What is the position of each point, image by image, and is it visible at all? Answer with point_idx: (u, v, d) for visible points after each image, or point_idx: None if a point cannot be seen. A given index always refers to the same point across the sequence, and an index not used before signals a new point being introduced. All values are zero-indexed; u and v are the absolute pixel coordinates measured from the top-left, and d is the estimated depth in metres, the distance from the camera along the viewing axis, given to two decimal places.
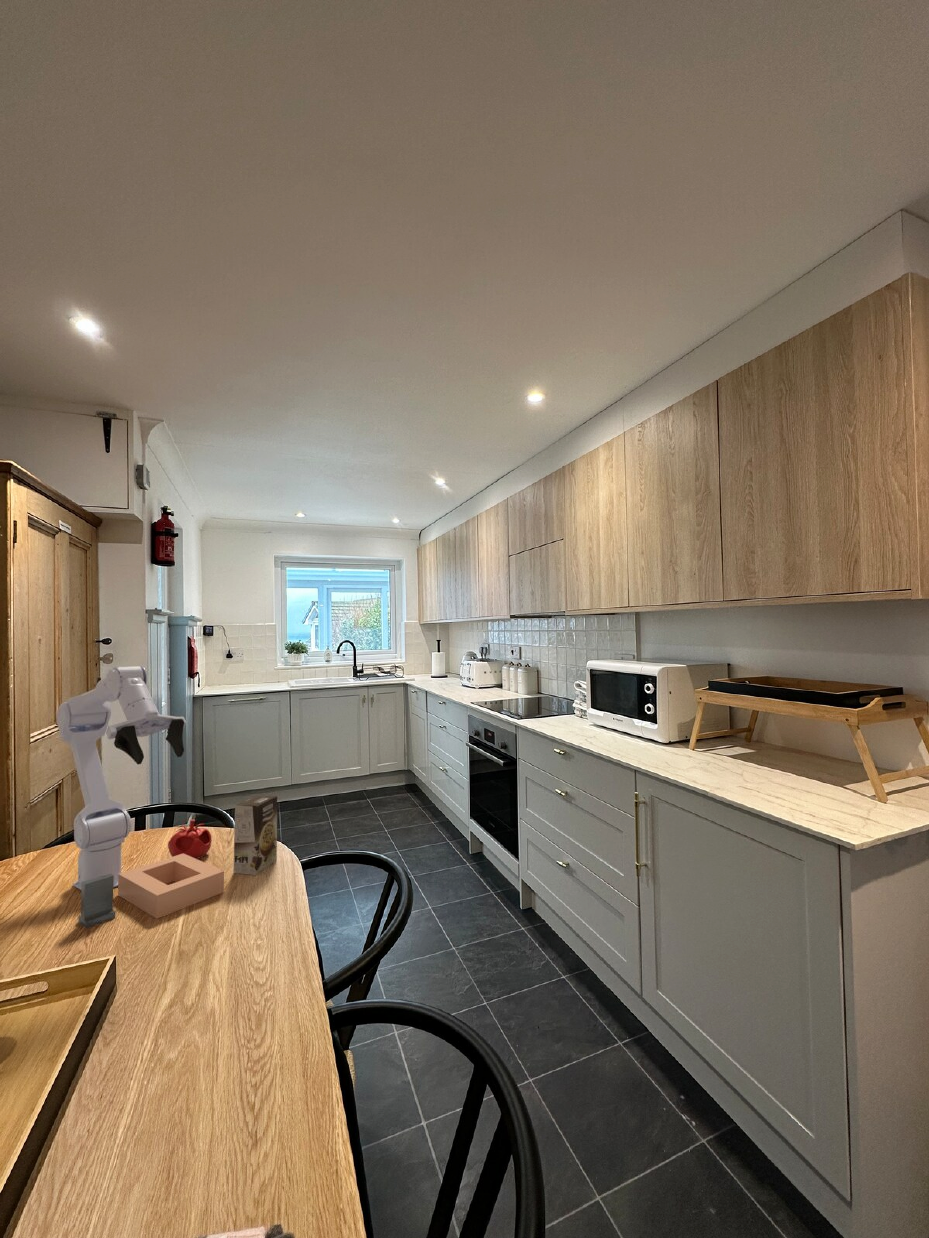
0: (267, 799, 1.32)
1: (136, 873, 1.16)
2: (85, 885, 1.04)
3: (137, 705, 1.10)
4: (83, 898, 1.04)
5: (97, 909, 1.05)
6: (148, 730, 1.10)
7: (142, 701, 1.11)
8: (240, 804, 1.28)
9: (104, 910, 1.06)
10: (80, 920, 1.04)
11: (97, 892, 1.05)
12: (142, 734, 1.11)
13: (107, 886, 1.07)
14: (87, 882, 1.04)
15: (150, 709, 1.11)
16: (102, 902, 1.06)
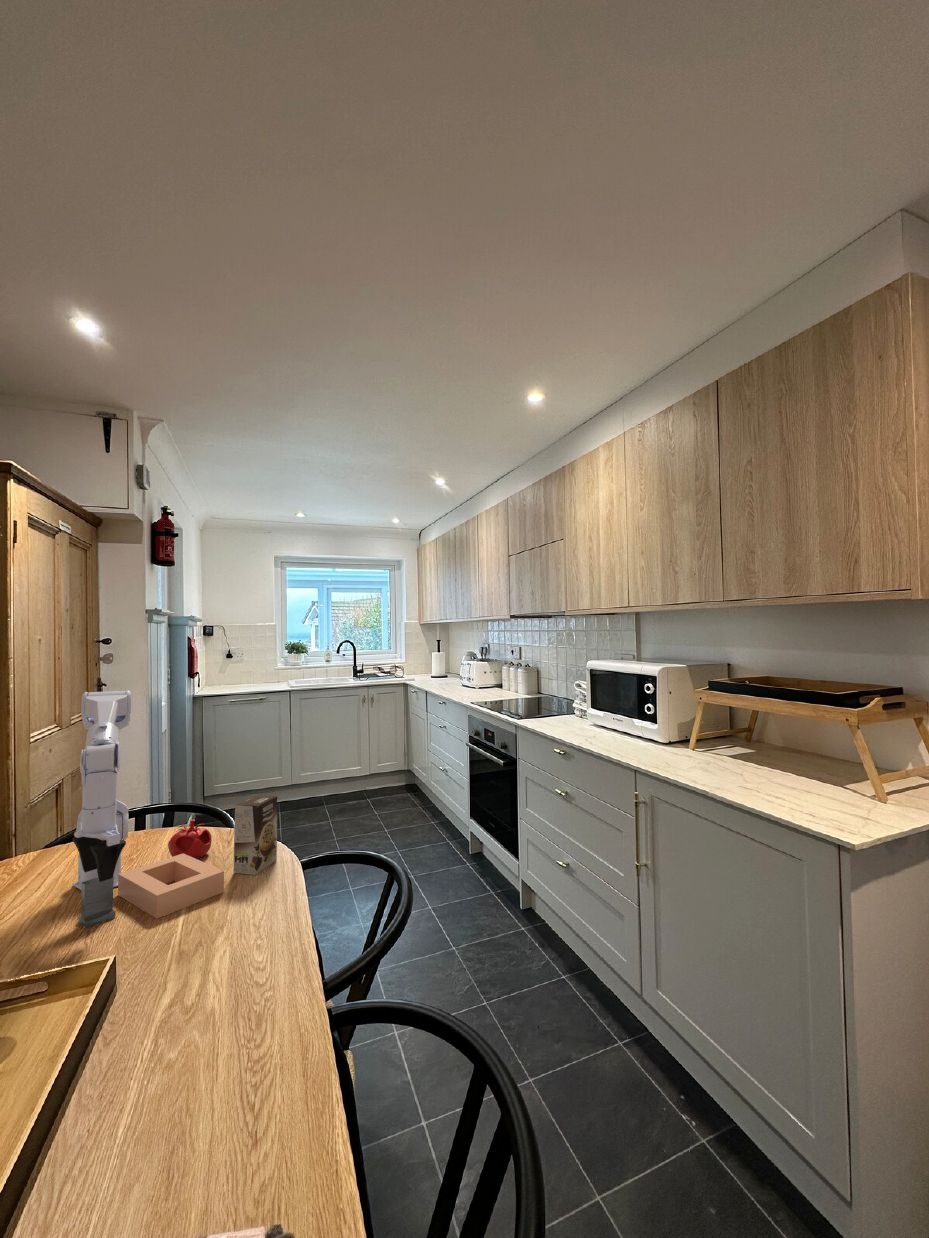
0: (267, 799, 1.32)
1: (136, 873, 1.16)
2: (85, 885, 1.04)
3: None
4: (83, 898, 1.04)
5: (97, 909, 1.05)
6: None
7: (82, 811, 1.05)
8: (240, 804, 1.28)
9: (104, 910, 1.06)
10: (80, 920, 1.04)
11: (97, 892, 1.05)
12: None
13: (107, 886, 1.07)
14: (87, 882, 1.04)
15: (83, 824, 1.04)
16: (102, 902, 1.06)
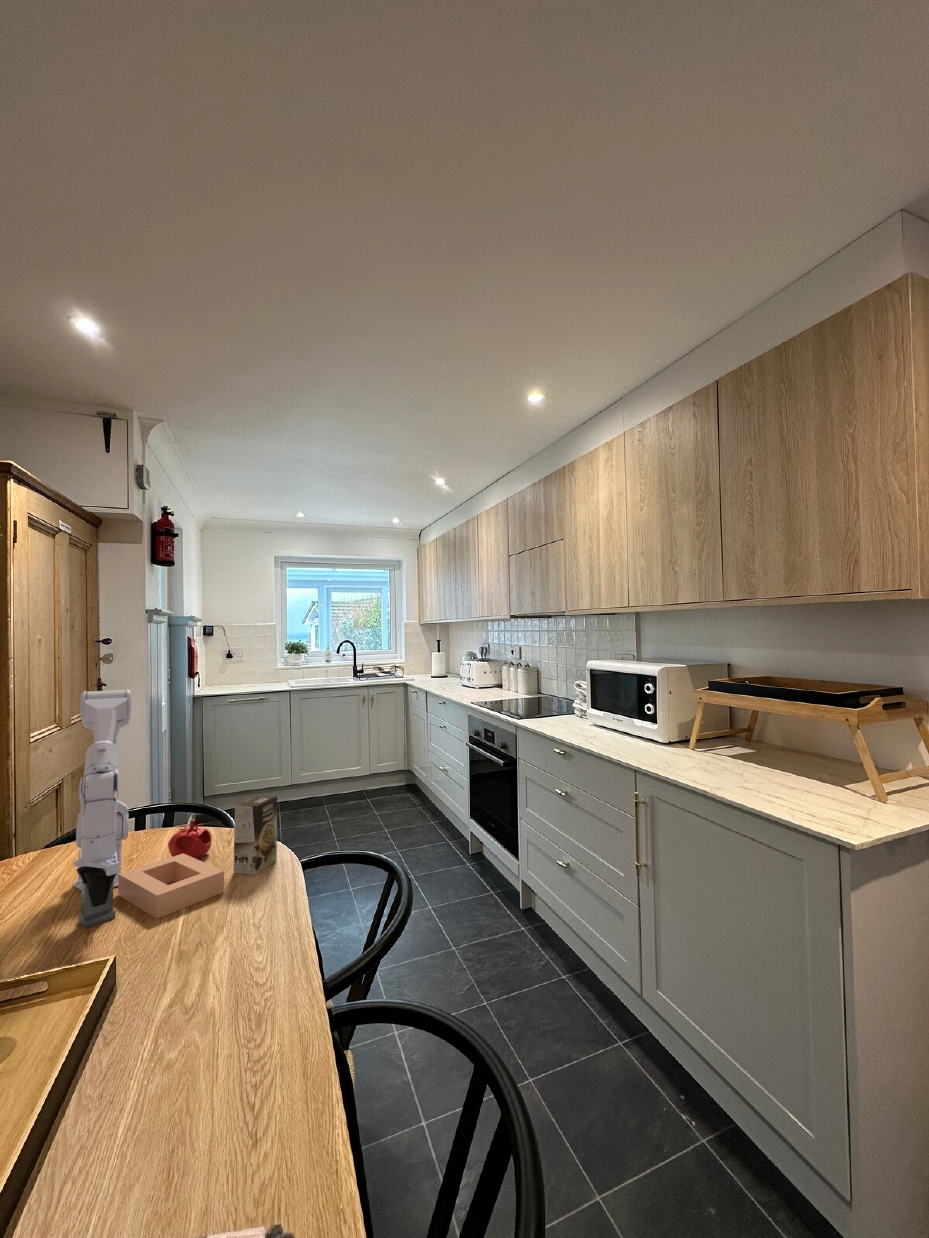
0: (267, 799, 1.32)
1: (136, 873, 1.16)
2: (85, 885, 1.04)
3: None
4: (83, 898, 1.04)
5: (97, 909, 1.05)
6: None
7: (81, 840, 1.04)
8: (240, 804, 1.28)
9: (104, 910, 1.06)
10: (80, 920, 1.04)
11: None
12: None
13: None
14: (87, 882, 1.04)
15: (82, 853, 1.04)
16: None
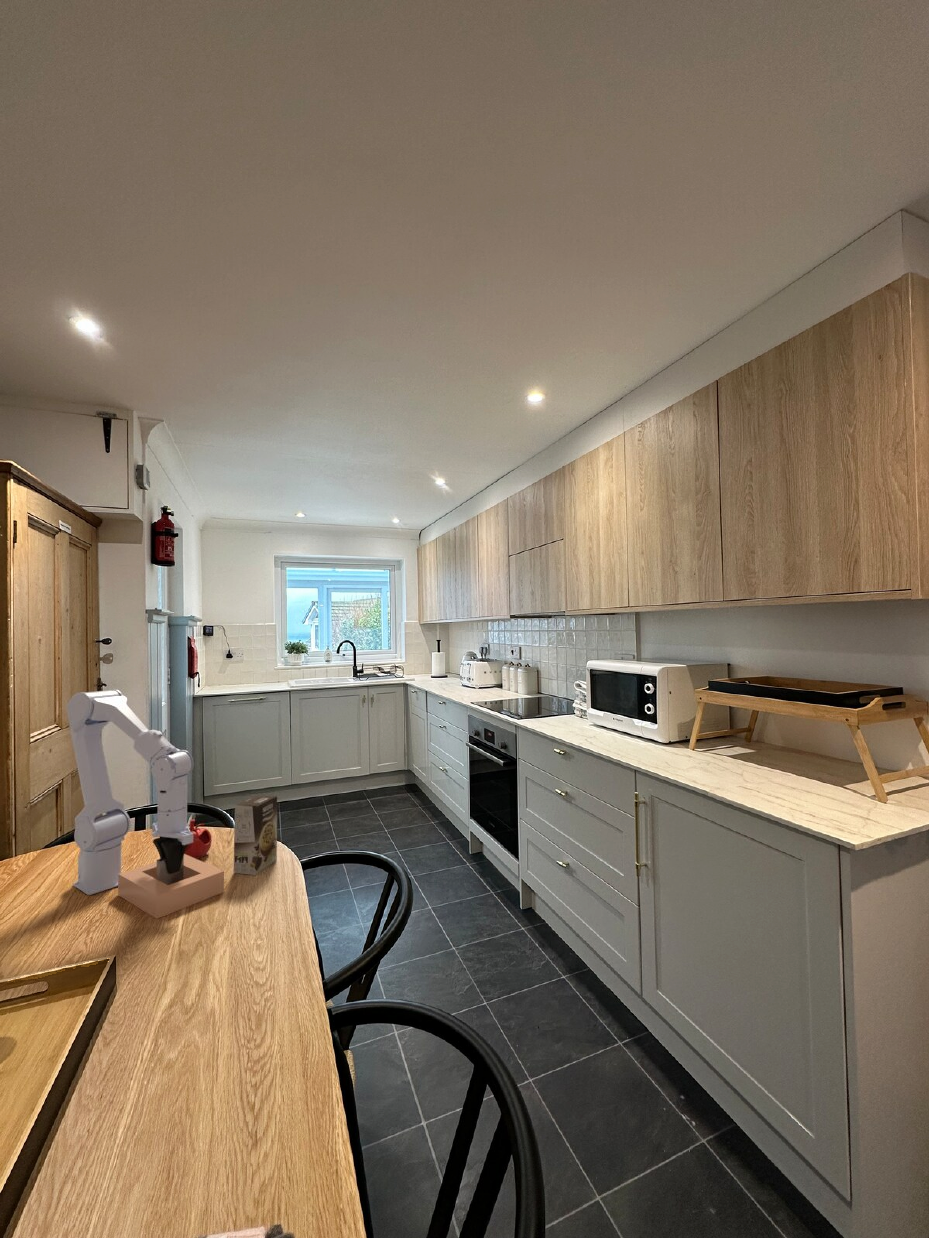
0: (267, 799, 1.32)
1: (136, 873, 1.16)
2: (160, 862, 1.14)
3: None
4: (158, 874, 1.14)
5: None
6: None
7: (158, 813, 1.15)
8: (240, 804, 1.28)
9: None
10: None
11: None
12: None
13: None
14: (161, 859, 1.15)
15: (159, 825, 1.15)
16: (174, 878, 1.16)
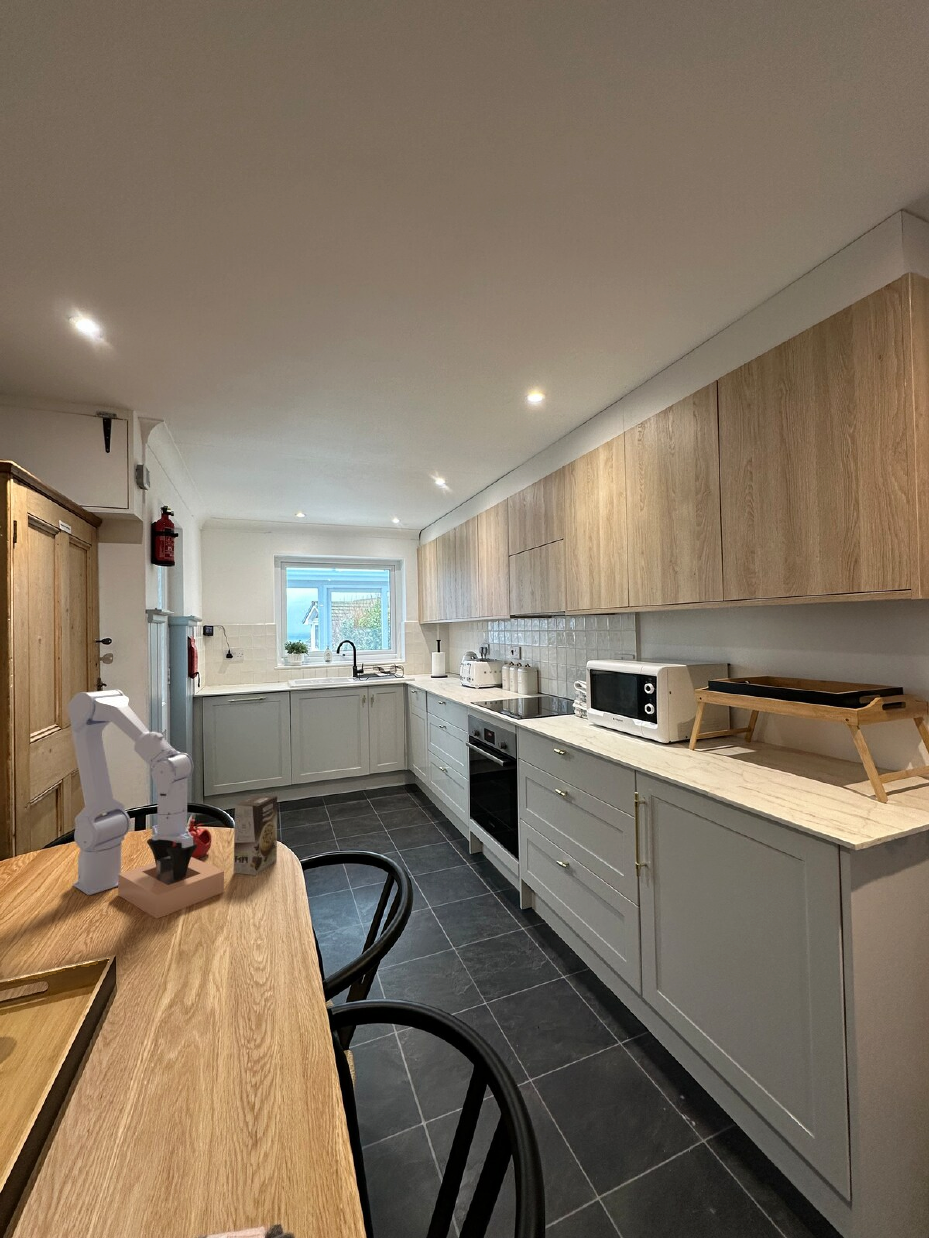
0: (267, 799, 1.32)
1: (136, 873, 1.16)
2: (160, 862, 1.14)
3: None
4: (158, 874, 1.14)
5: None
6: None
7: (158, 816, 1.15)
8: (240, 804, 1.28)
9: None
10: None
11: (170, 869, 1.16)
12: None
13: None
14: (162, 859, 1.15)
15: (159, 828, 1.15)
16: None
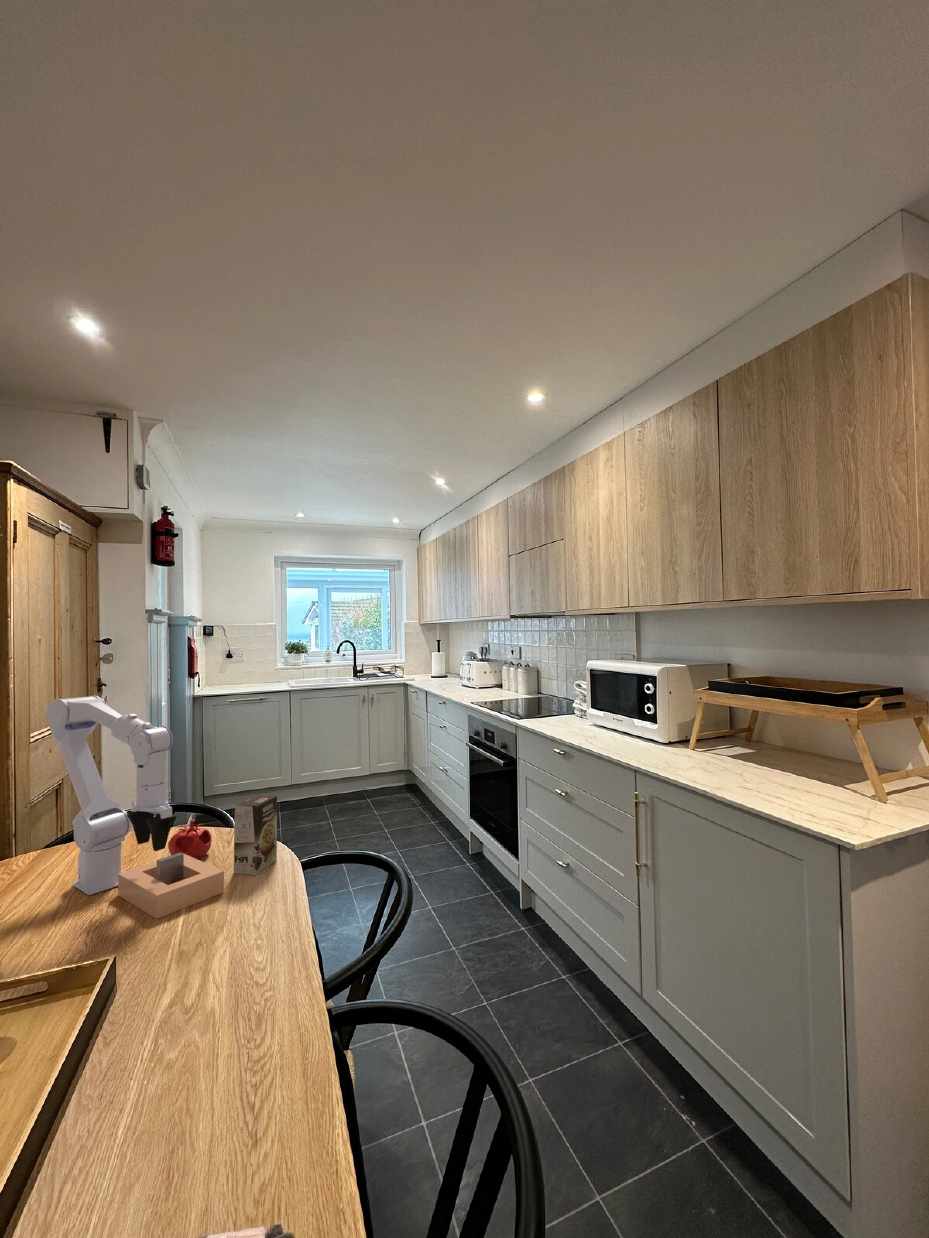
0: (267, 799, 1.32)
1: (136, 873, 1.16)
2: (160, 862, 1.14)
3: None
4: (158, 874, 1.14)
5: None
6: None
7: (137, 788, 1.15)
8: (240, 804, 1.28)
9: None
10: None
11: (170, 869, 1.16)
12: None
13: (178, 864, 1.17)
14: (161, 860, 1.15)
15: (138, 800, 1.15)
16: (174, 878, 1.17)
